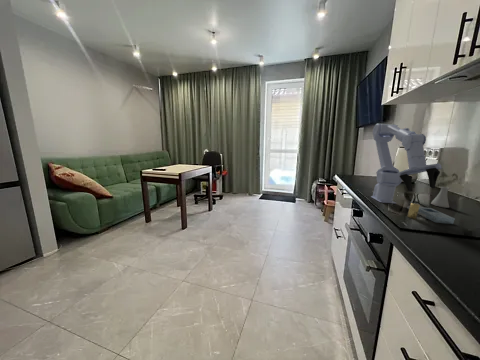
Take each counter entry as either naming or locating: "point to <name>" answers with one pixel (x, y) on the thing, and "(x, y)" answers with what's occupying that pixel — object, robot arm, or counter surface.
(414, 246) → the counter surface
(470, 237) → the counter surface
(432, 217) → the pale blue flat bar
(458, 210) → the counter surface
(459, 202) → the counter surface
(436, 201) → the flask
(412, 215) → the yellow upright block
